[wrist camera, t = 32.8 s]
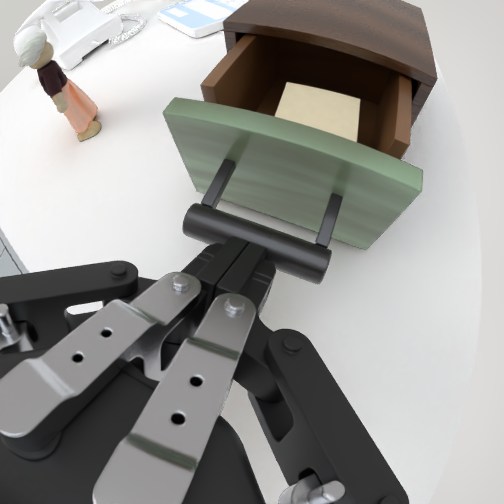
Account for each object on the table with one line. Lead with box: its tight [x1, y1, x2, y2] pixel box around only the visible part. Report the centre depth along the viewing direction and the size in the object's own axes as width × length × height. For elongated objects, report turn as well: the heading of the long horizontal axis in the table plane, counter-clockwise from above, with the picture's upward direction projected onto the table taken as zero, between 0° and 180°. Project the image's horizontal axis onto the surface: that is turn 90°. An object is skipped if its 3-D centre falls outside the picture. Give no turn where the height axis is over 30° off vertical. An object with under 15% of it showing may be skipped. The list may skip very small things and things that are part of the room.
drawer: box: [163, 33, 423, 285], centre depth 16 cm, size 18×12×8 cm
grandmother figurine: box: [19, 32, 101, 141], centre depth 18 cm, size 8×4×13 cm, turn 46°
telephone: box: [14, 0, 146, 70], centre depth 25 cm, size 25×21×12 cm
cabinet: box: [223, 0, 437, 127], centre depth 18 cm, size 15×13×10 cm
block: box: [275, 82, 360, 142], centre depth 16 cm, size 4×4×4 cm
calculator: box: [158, 0, 249, 38], centre depth 29 cm, size 13×20×2 cm, turn 125°
